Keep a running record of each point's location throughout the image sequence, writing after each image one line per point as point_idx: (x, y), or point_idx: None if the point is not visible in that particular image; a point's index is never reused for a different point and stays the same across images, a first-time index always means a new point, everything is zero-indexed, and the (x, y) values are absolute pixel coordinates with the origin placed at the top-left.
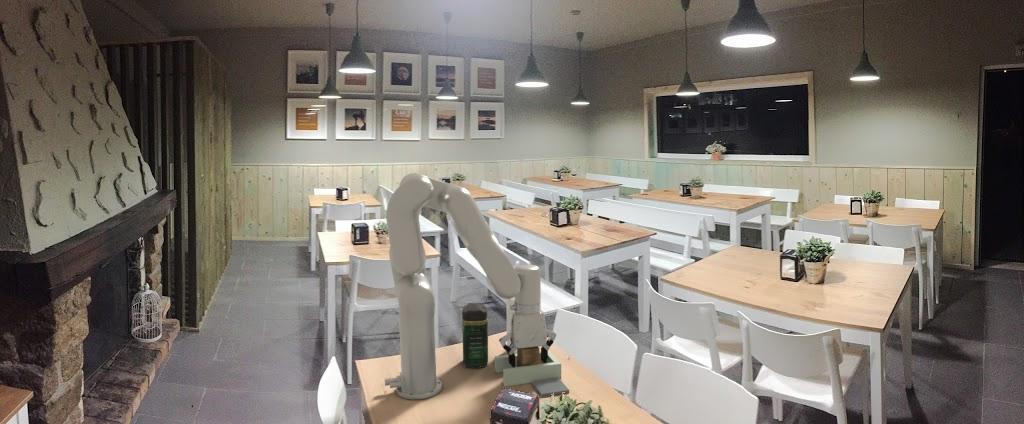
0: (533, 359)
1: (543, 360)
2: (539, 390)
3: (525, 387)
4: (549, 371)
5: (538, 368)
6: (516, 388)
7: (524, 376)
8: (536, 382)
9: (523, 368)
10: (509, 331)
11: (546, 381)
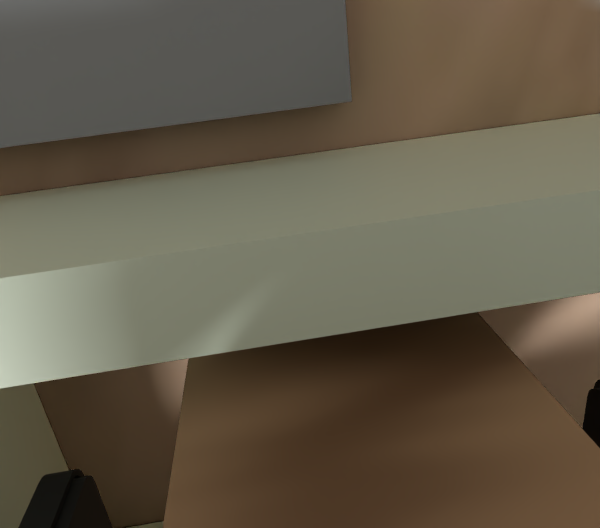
0: (326, 464)
1: (90, 525)
2: None
3: (460, 11)
4: (17, 231)
5: (236, 229)
6: (588, 6)
7: (484, 158)
8: (292, 52)
9: (587, 200)
10: None
11: (119, 53)
